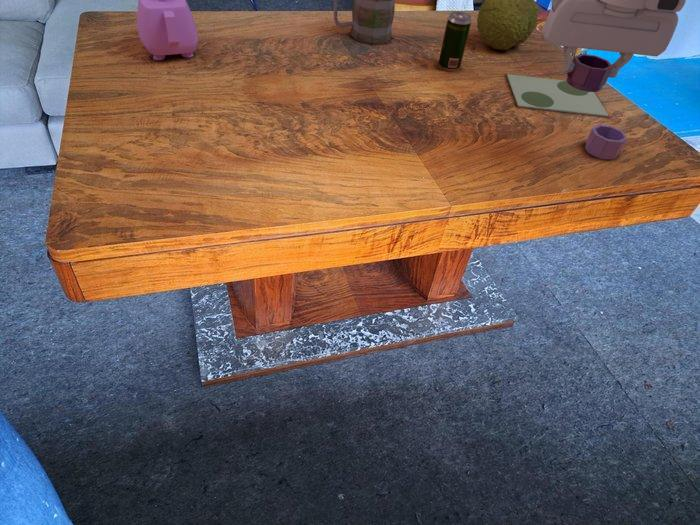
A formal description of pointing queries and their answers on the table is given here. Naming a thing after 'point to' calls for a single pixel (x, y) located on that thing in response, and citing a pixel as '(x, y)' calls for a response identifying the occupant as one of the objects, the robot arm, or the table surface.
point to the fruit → (506, 22)
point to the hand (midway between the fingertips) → (588, 73)
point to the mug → (370, 20)
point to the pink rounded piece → (166, 28)
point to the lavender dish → (605, 142)
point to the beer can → (454, 41)
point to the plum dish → (589, 73)
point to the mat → (554, 96)
